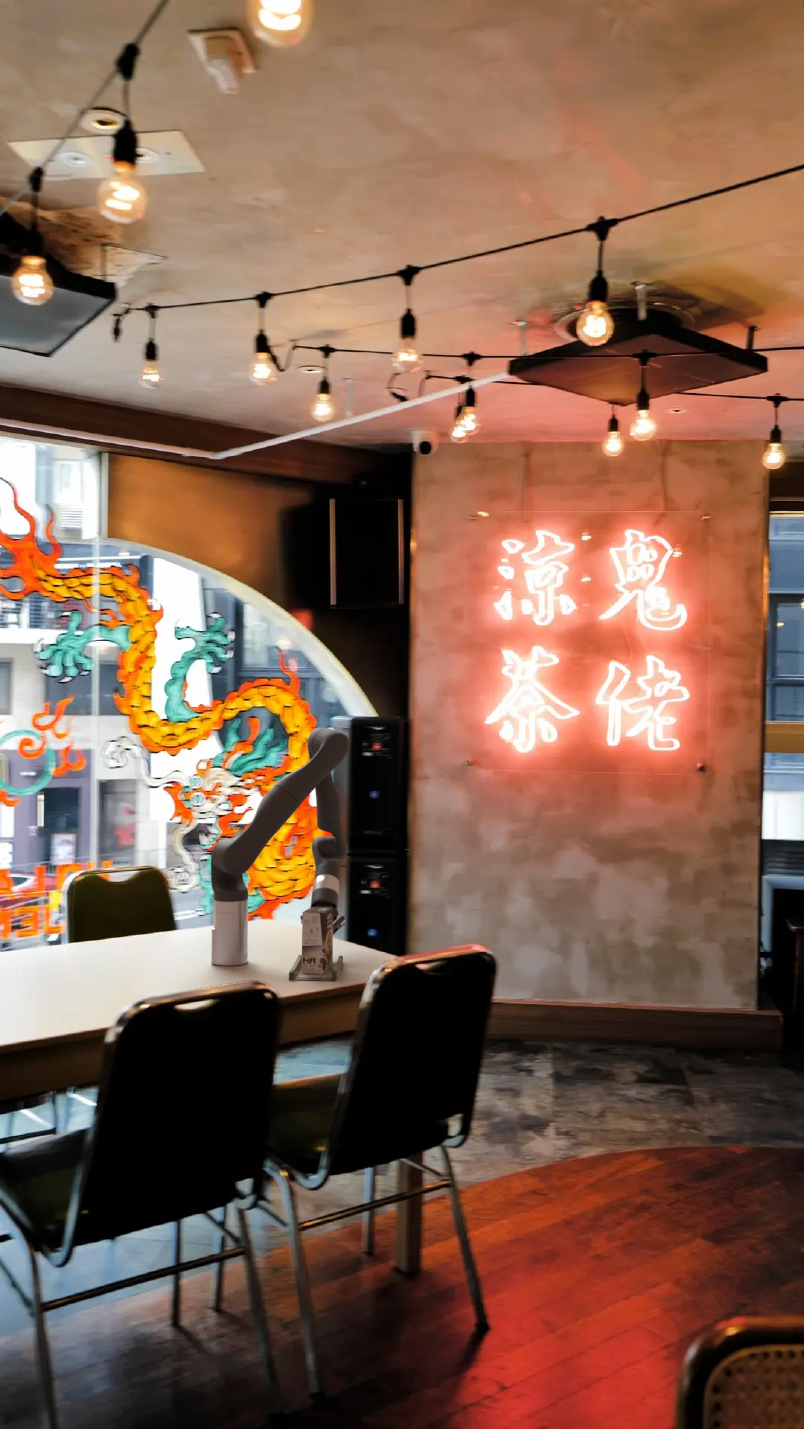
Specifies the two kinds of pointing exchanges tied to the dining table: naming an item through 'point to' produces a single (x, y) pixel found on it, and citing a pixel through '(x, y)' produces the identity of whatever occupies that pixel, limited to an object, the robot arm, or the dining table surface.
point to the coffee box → (317, 940)
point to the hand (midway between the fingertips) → (320, 946)
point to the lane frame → (334, 977)
